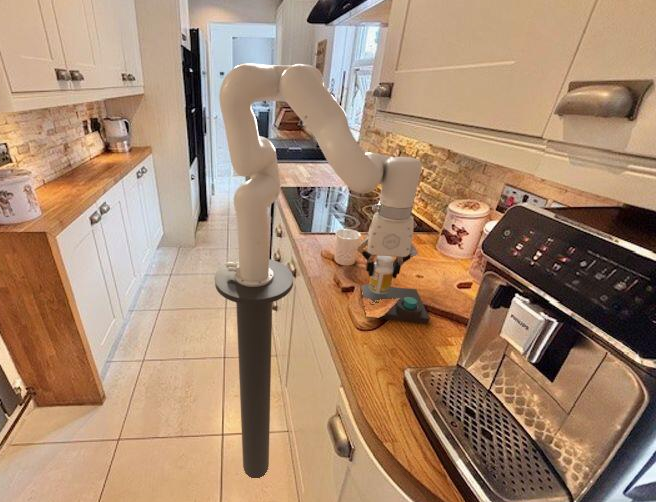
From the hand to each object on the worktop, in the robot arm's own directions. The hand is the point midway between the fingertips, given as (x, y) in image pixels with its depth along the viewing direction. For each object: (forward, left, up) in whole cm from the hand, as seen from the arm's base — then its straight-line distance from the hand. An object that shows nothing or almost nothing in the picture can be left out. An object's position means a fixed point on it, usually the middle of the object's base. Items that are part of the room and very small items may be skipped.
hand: (381, 273), depth 87 cm
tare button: (+6, -7, -5) cm, 10 cm away
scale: (+3, -2, -8) cm, 9 cm away
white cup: (-8, +21, -8) cm, 23 cm away
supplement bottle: (0, 0, -5) cm, 5 cm away
